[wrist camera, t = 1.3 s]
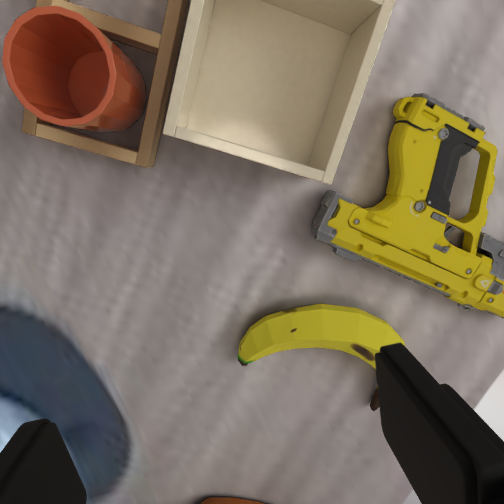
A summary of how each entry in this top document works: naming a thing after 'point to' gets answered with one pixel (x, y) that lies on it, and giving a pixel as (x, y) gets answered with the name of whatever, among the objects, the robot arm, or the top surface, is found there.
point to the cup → (71, 72)
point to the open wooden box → (275, 79)
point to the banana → (319, 334)
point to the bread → (228, 501)
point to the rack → (159, 92)
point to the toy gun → (425, 210)
